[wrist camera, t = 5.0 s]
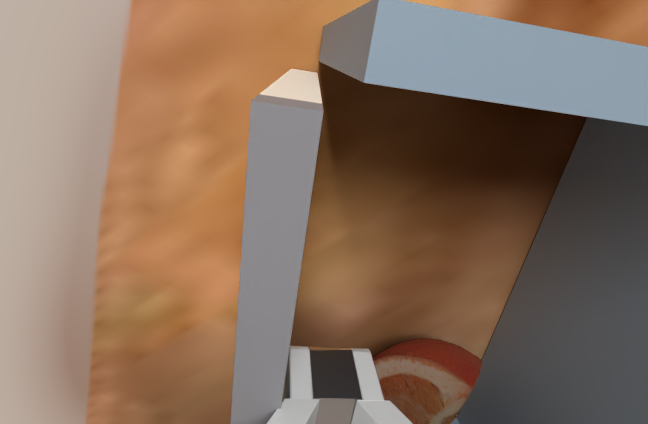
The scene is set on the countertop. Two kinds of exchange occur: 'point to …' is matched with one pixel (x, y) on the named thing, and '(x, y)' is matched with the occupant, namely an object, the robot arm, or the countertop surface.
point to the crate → (564, 209)
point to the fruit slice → (427, 379)
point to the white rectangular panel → (273, 238)
